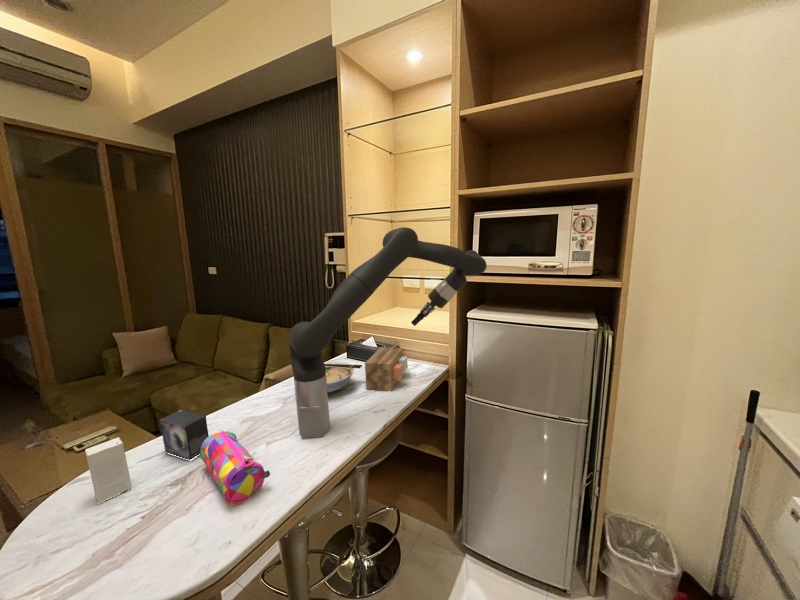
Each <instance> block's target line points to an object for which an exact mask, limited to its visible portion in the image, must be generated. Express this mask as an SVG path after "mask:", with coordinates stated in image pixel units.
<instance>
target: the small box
mask: <svg viewBox="0 0 800 600" xmlns="http://www.w3.org/2000/svg"><path fill="white" fill-rule="evenodd" d="M159 423H160V424H159V425H160V429H161V435H162V442H163V447H164V452H167V453H170V454H173V455H176V456H179V457H182V458H185V459H189V460H190V459H192V458H194V457H195V456H197V455H199V454H200V449H201V446H202V443H203V442H204V440H205V439H206V438H207V437H209V436H210V434H209V430H208V422H207V415H206V414H203V413H198V412H194V411H190V410H185V409H179V410H177V411H174V412H173V413H171V414H169V415H167V416H165V417H163V418H161V419H159Z"/></svg>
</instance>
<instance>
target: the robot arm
mask: <svg viewBox="0 0 800 600" xmlns="http://www.w3.org/2000/svg"><path fill="white" fill-rule="evenodd" d="M407 258H413V259H419V260H423V261H428V262H431V263H435V264H438V265H443V266H447V267H451V268H453V269H452V271H451V272H450V273H449V274H448V275H447V276H446V277H445V278H444V279H443V280H442V281H440V282H439V283H438V284H436V285H437V286H435V287H434V288H433V289H432V290H431V292H430V293H428V295H427V297H428V299H429V301H430V302H429V301H427V302H426V303H425V304H424V306H423V307H422V308H421V309H420V311H419V313H418V314H417V315H416V317H415V318H414V319H413V320H411V321H410V323H411V324H412V325H413V326H415V327H416V326H417V325H418V324H419V323H420V322H421V321H422V320H424V319H425V318H427V317H428V316H429V315H430V314H431V313H433V312H434V311H435V309H436V308H435V307H437V308H439V309H443V308H444V307H445V306H446V305H447V304H448V303H449V302H450V301H451V300H452V299H453V298H454V297H455V295H457V293H458V292H459V291H461V289H462V288H463V287H465V285H466V284H467V281H468V279H467V277H466V275H467V274H469V275H470V276H471V275H472V276H479V275H481V274H483V273H484V272H485V271H486V270H487V262H486V259H485V258H484V257H482V256H481V255H480V254H479V252H477V251H476V250H473V249H470V250H467V251H464V250H463V249H460V248H458V247H455V246H451V245H447V244H442V243H435V242H429V241H428V242H427V241H422V240H419V238H418V234H417V232H416V231H415V230H414V229H413V228H410V227H398V228H394V229H392V230H390V231H388V232H387V233H386V234H385V235H384V236H383V238H382V248H381V249H380V250H379V251H378V252H377V253H376V254H375V255H373V256H372V257H371V258H369V259H368V260H366V261H365V262H363V263H362V264H360V265H359V266H358V267H356V268H355V269H354V270H353V271H352V272H350V273H349V274H348V275H347V276H346V278H345V279H343V281H342V282H341V283H340V284H339V285H338V286H337V288H336V289H335V291H334V292H333V294H332V295H331V297H330V299H329V301H328V303H327V304H326V306H325V307H324V309H322V311H320V313H318V314H317V316H315V318H313V319H312V320H311V321H300V322H298V323H296V324H295V325H294V326H293V327H292V328H291V329H290V331H289V334H288V347H289V357H290V365H291V369H292V374H293V381H294V392H295V393H294V394H295V405H296V415H297V424H298V434H299V435H300V436H301V439H303V440H304V439H312V438H313V439H314V438H322V437H324V436H325V435H326V433H328V431H329V430H330V429H331V421H330V411H329V409H330V408H329V397H328V396H329V395H328V394H329V393H327V381H326V368H325V364H324V363H325V361H324V359H323V353H322V351H323V350H324V349H325V348H326V347H327V345H328V344H329V343H330V341H331V340H332V339H333V337H334V336H335V335H336V334H337V332H338V331H339V330H340V328H341V327H342V326H343V325H345V323H346V322H347V321H349V319H350V318H351V317H352V316H353V315H354V314H355V313H356V312H357V311H358V309H360V308H361V307H362V306H363V305H364V304H365V302H367V300H368V299H369V298H370V297H371V296H372V295H373V294H374V293H375V292H376V290H377V289H378V288H379V287H380V286H381V285H382V284H383V283H384V281H385V280H387V278H388V277H389V276H390V275H391V273H392V272H394V270H395V269H396V268H397V267H399V266H400V265H401V264H403V262H404V261H406V260H407Z"/></svg>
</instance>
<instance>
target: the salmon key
mask: <svg viewBox="0 0 800 600" xmlns="http://www.w3.org/2000/svg"><path fill="white" fill-rule="evenodd" d="M403 376H404V372H403V364H394V365H393V367H392V379H397V380H398V381H402V380H401V379H402V378H403Z"/></svg>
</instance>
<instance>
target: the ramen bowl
mask: <svg viewBox="0 0 800 600" xmlns="http://www.w3.org/2000/svg"><path fill="white" fill-rule="evenodd" d="M324 364H325V368H326V381H327V394H330V393H333V392H334V391H337V390H339V389H341V388H343V387H344V386H345V385H347V383H348V382H349V381H350V379H351V377H352V376H353V373H354V372H355V371H354V370H355V369H361V368H362V367H363V365H362V364H349V363H346V362H339V361H338V362H337V361H333V362H332V361H331V362H330V361H329V362H324Z"/></svg>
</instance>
